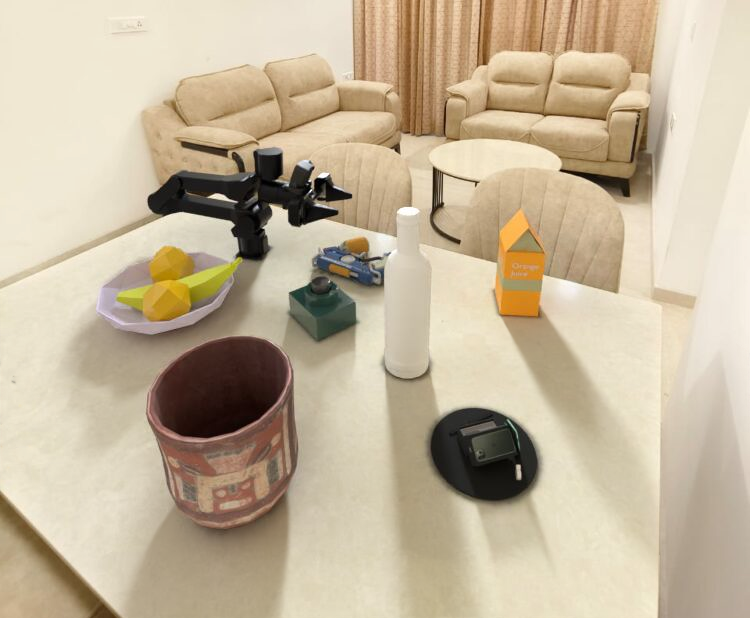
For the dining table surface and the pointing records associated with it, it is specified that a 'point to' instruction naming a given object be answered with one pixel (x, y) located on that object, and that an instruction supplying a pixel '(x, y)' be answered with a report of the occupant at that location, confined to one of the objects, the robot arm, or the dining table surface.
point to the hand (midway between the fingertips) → (345, 204)
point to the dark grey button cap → (320, 285)
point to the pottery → (226, 429)
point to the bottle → (407, 300)
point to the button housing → (322, 310)
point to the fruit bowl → (166, 291)
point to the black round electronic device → (483, 454)
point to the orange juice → (519, 268)
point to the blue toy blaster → (352, 261)
